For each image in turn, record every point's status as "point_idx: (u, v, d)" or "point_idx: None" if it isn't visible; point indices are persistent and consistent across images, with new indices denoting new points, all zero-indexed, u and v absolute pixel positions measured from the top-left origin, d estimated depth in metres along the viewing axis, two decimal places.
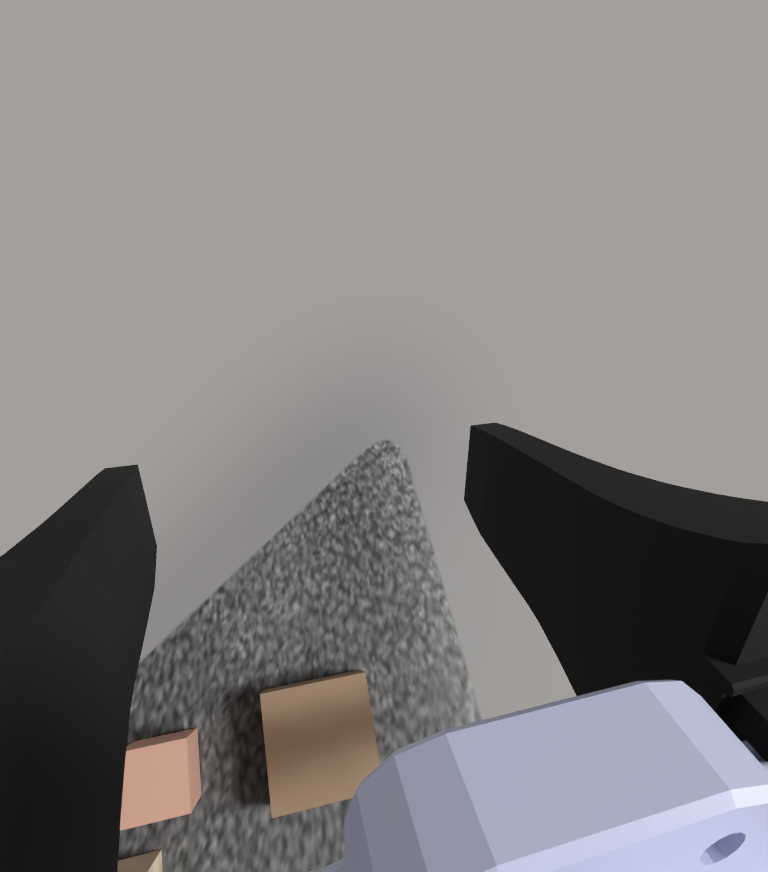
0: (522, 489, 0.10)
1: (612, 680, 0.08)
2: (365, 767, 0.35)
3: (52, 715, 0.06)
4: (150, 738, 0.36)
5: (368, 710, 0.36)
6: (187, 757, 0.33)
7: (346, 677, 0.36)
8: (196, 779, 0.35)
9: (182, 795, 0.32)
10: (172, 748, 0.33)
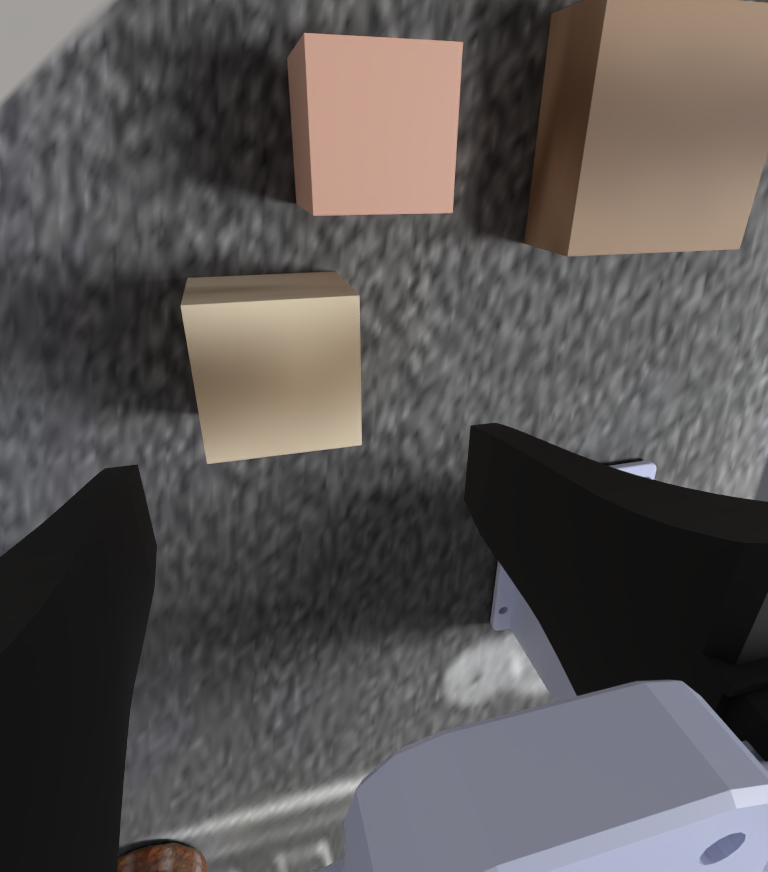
0: (522, 489, 0.10)
1: (612, 680, 0.08)
2: (730, 205, 0.19)
3: (52, 715, 0.06)
4: None
5: None
6: (457, 93, 0.14)
7: None
8: None
9: (441, 173, 0.15)
10: (430, 60, 0.14)
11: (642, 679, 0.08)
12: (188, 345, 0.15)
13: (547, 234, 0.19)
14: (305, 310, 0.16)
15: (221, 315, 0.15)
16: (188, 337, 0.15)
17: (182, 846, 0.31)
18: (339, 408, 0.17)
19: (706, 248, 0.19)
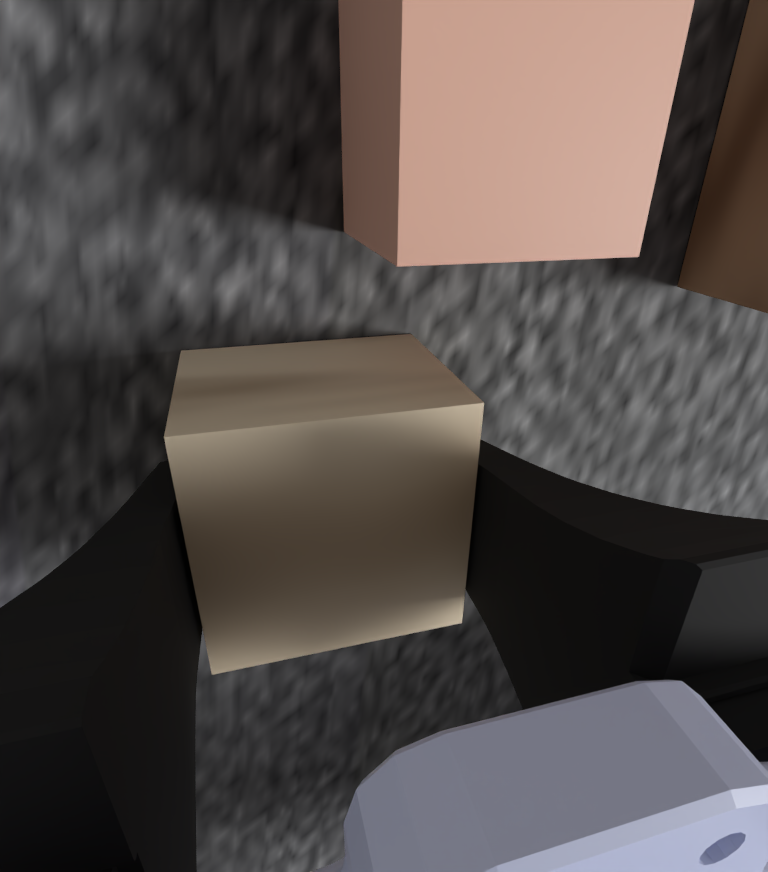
0: None
1: (552, 695, 0.08)
2: None
3: (152, 694, 0.06)
4: None
5: None
6: (680, 32, 0.07)
7: None
8: None
9: (631, 187, 0.08)
10: None
11: (578, 696, 0.07)
12: (179, 502, 0.08)
13: (733, 278, 0.12)
14: (390, 432, 0.09)
15: (240, 449, 0.08)
16: (179, 490, 0.08)
17: None
18: (432, 576, 0.10)
19: None
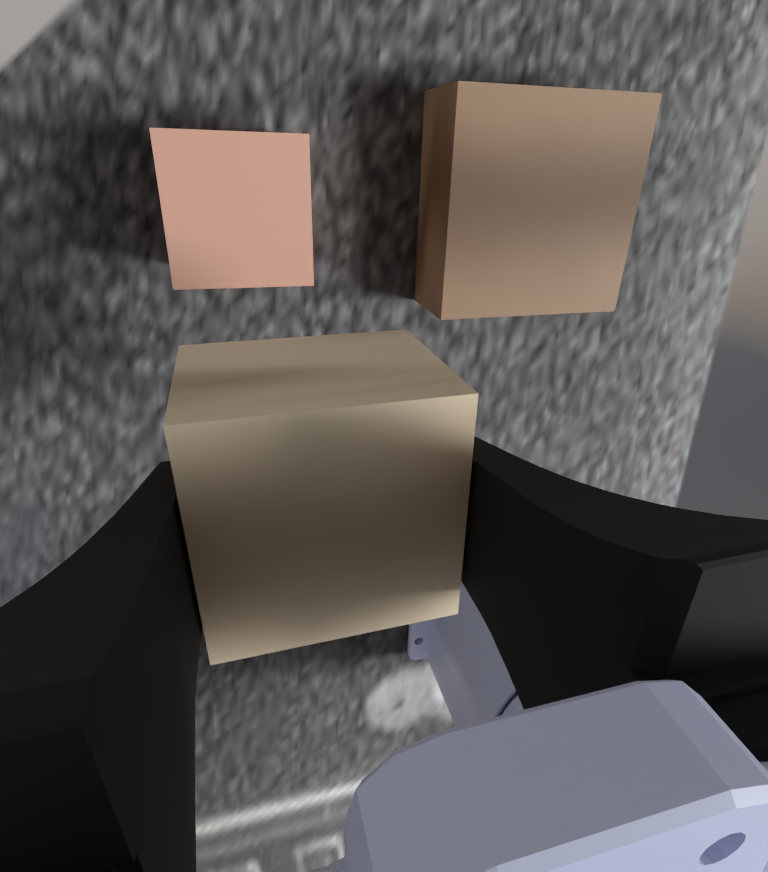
0: (472, 496, 0.10)
1: (553, 695, 0.08)
2: (600, 271, 0.20)
3: (152, 694, 0.06)
4: None
5: (640, 174, 0.18)
6: (309, 178, 0.15)
7: (627, 94, 0.17)
8: None
9: (298, 250, 0.16)
10: (278, 150, 0.15)
11: (578, 695, 0.07)
12: (178, 491, 0.08)
13: (428, 295, 0.20)
14: (387, 422, 0.09)
15: (238, 438, 0.08)
16: (178, 478, 0.08)
17: None
18: (428, 566, 0.11)
19: (581, 310, 0.20)
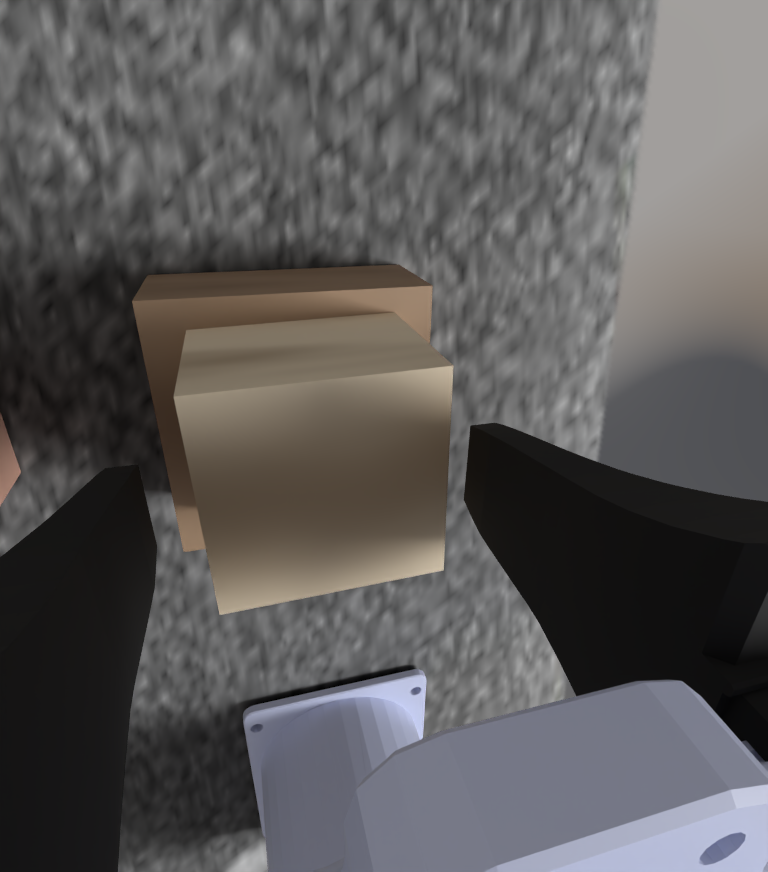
0: (522, 489, 0.10)
1: (612, 680, 0.08)
2: None
3: (52, 715, 0.06)
4: None
5: None
6: None
7: (382, 291, 0.13)
8: None
9: None
10: None
11: (642, 679, 0.08)
12: (187, 455, 0.10)
13: None
14: (370, 392, 0.10)
15: (239, 407, 0.09)
16: (187, 443, 0.09)
17: None
18: (414, 525, 0.12)
19: None
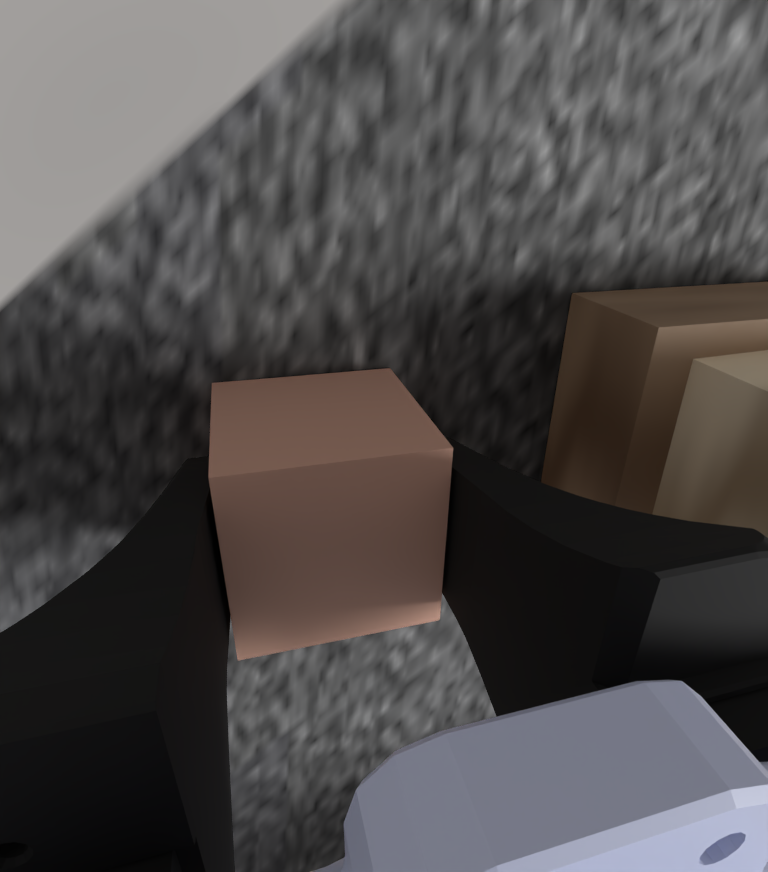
0: None
1: (523, 702, 0.08)
2: None
3: (198, 684, 0.06)
4: (265, 386, 0.12)
5: None
6: (445, 498, 0.10)
7: None
8: None
9: (423, 586, 0.11)
10: (405, 474, 0.09)
11: (545, 704, 0.07)
12: None
13: None
14: None
15: None
16: None
17: None
18: None
19: None
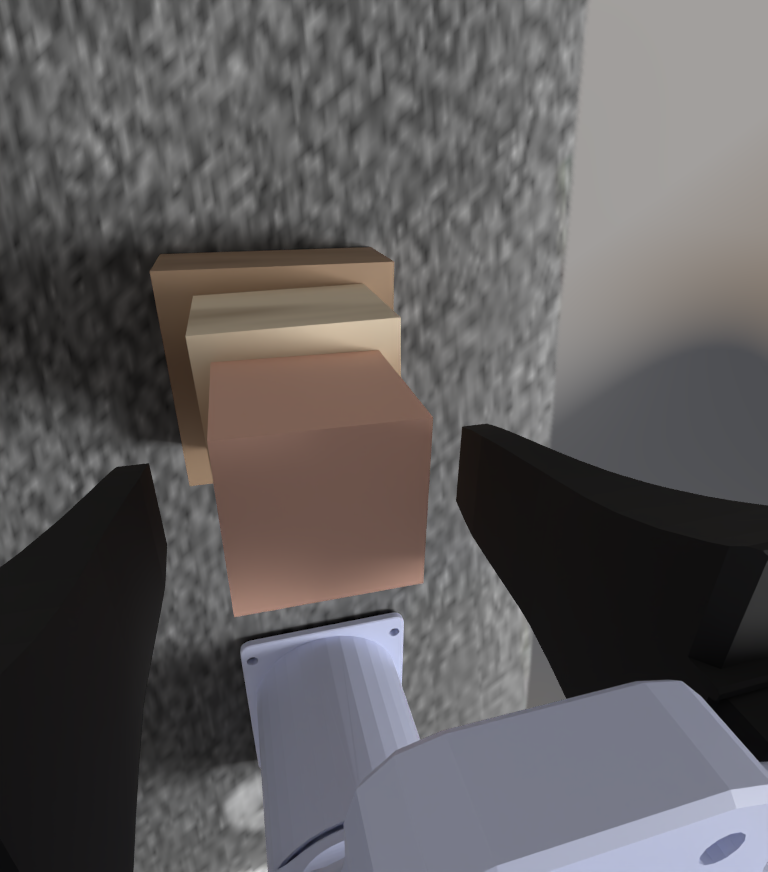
0: (512, 490, 0.10)
1: (600, 683, 0.08)
2: None
3: (73, 711, 0.06)
4: (260, 365, 0.12)
5: None
6: (426, 465, 0.11)
7: (352, 266, 0.16)
8: None
9: (406, 549, 0.11)
10: (389, 442, 0.10)
11: (629, 682, 0.08)
12: (195, 383, 0.13)
13: None
14: (336, 337, 0.13)
15: (235, 346, 0.12)
16: (195, 374, 0.12)
17: None
18: None
19: None
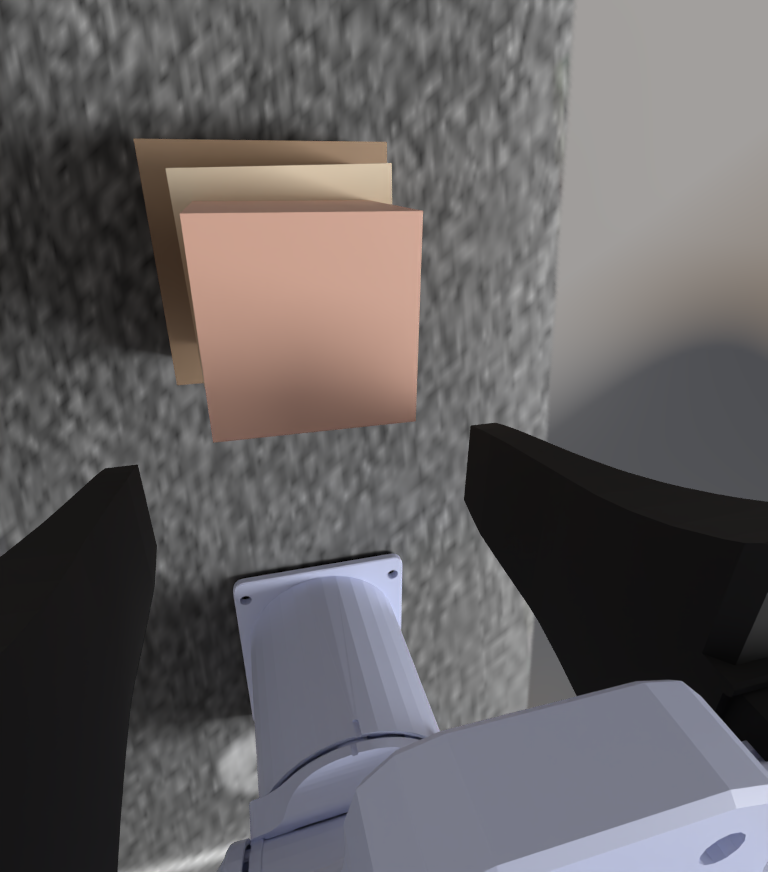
0: (522, 489, 0.10)
1: (612, 680, 0.08)
2: None
3: (52, 715, 0.06)
4: (244, 201, 0.12)
5: None
6: (417, 274, 0.10)
7: (343, 144, 0.16)
8: None
9: (397, 376, 0.11)
10: (376, 237, 0.09)
11: (642, 679, 0.08)
12: (177, 224, 0.12)
13: None
14: (324, 181, 0.12)
15: (218, 184, 0.12)
16: (176, 213, 0.12)
17: None
18: None
19: None
